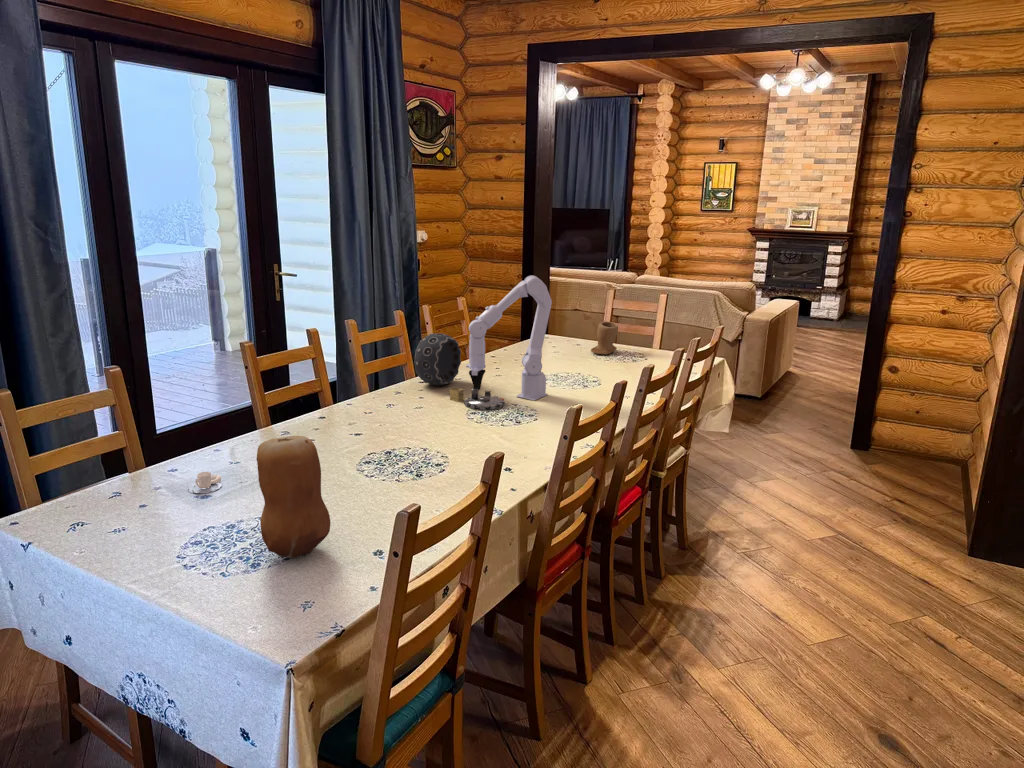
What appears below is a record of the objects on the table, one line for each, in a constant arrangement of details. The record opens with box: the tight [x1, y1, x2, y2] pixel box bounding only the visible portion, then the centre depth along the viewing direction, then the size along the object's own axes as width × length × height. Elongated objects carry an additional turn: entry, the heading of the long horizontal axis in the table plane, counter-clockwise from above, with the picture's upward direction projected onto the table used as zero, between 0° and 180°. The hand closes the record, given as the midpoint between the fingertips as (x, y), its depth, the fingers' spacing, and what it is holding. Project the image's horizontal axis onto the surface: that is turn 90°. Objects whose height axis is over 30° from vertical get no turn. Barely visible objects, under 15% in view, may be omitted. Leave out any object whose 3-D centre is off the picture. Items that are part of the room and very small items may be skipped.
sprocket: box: [463, 387, 506, 411], centre depth 244 cm, size 14×14×5 cm
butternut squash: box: [256, 435, 331, 559], centre depth 138 cm, size 14×13×25 cm
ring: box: [413, 333, 462, 387], centre depth 267 cm, size 11×20×20 cm, turn 153°
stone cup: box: [590, 320, 619, 355], centre depth 328 cm, size 15×12×15 cm
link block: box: [449, 387, 465, 403], centre depth 250 cm, size 4×3×4 cm
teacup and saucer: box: [195, 471, 222, 489], centre depth 172 cm, size 9×8×4 cm
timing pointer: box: [484, 390, 492, 396], centre depth 253 cm, size 1×2×2 cm, turn 85°
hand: (477, 389), depth 253 cm, fingers closed
